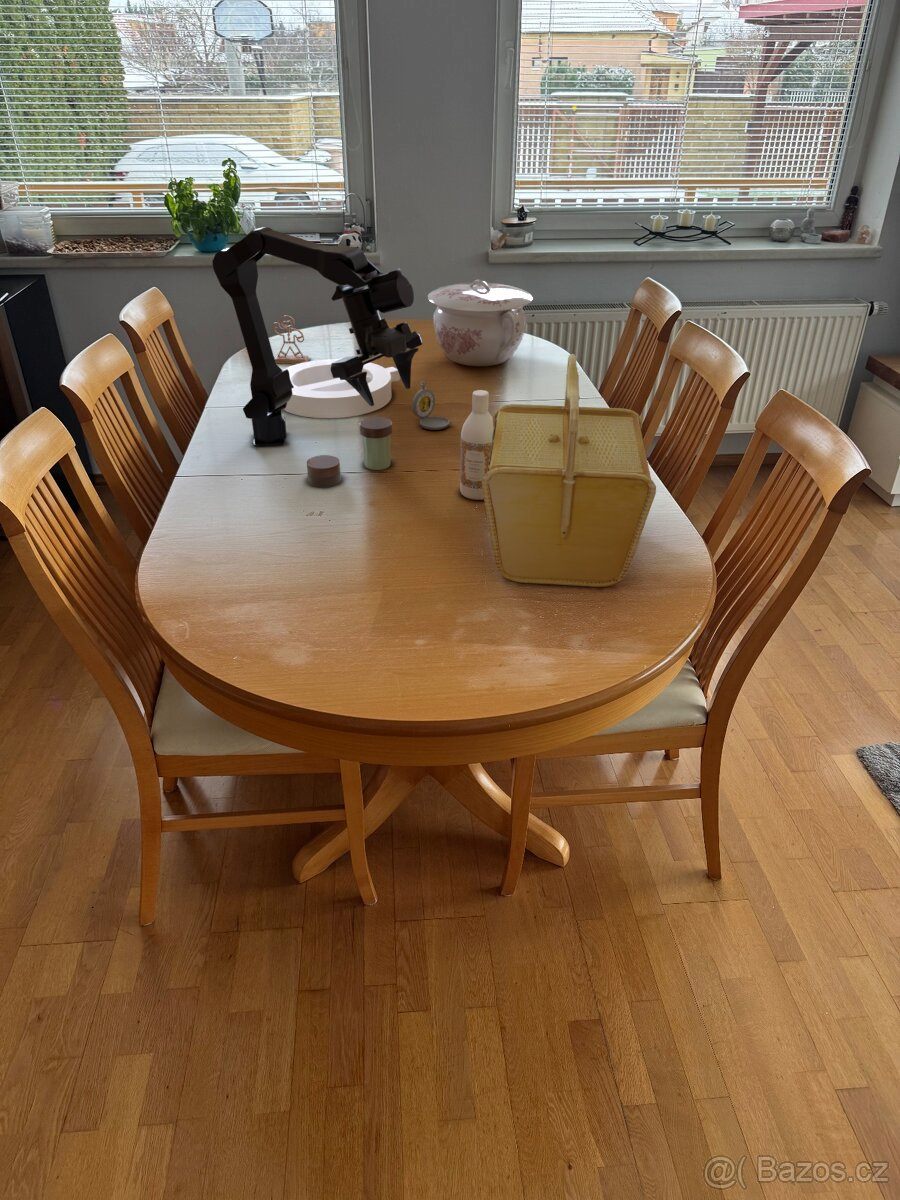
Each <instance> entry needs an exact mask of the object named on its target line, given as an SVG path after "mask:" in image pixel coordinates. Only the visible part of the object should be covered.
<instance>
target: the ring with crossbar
mask: <svg viewBox="0 0 900 1200" xmlns="http://www.w3.org/2000/svg"><path fill="white" fill-rule="evenodd" d="M340 359H341V358H329V359H328V358H327V359H326V358H325V359H317V360H310V361H309V360H308V362H304V363H299V364H293V365H292V364H291V365H290V366H287V367H285V368H283V369H282V370H286V369H287V370H288V371H289V375H290V380H291V383H292V385H293V386H294V388H292V396H291V398H290V400H289V401H288V402H287V406H286V408H285V409H282V411H285V412H287V413H289V414H293V415H295V416H301V417H305V418H315V419H341V418H342V419H343V418H351V417H357V416H362V415H365V414H369V413H372V412H375V411H378V410H380V409H382V408H383V407H385V406H386V405H388V404H389V403H390V401H391V399H392V395H393V394H392V383H393V382H398V381H401V377H400V375H399V372H398V370H397V367H394V366H388V367H383V366H382V365H379V364H377V363H374V362H370V363H367V364H365V365H364V367H363V369H362V372H367V376H366V381H367V384H368V386H369V389H370V392H371V395H372V398H373V402H374V406H370V405H369V404H368V403H367V402H366V401H365V400H364V398H363V397H362V396H361V395H360V394H359V393H358V392H357V391H356V390H355V389H354V388H353V387H352V386H351V385H350V384H349V383H348V382H347V381H346V380H340V378H333V376H332V373H331V364H332V363H333V362H335V361H338V360H340Z"/></svg>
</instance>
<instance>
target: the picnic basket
mask: <svg viewBox="0 0 900 1200" xmlns="http://www.w3.org/2000/svg"><path fill="white" fill-rule="evenodd" d="M565 376H566V377H565V391H564V403H563V404H564V405H548V404H547V405H546V404H521V403H520V404H519V403H509V404H504V405H502V406H500V407H498V408H497V409H496V410H495V412H494V413H493V414H492V418H493V427H494V431H493V437H492V443H491V450H490V456H489V462H488V468H487V473H486V475H485V476H484V477H483V479H482V489H483V495H484V500H483V501H484V506H485V513H486V517H487V518H486V519H487V525H488V531H489V535H490V543H491V547H492V548H491V549H492V553H493V560H494V565H495V568H496V569H497V571H498V573H499V574H500V575H502V576H503V577H504V578H506V579H507V580H510V581H512V582H516V583H523V584H541V585H556V586H557V585H559V586H574V587H576V586H577V587H590V588H591V587H592V588H603V587H610V586H613V585H616V584H618V583H619V582H620V581H623V579H625V577H626V575H627V574H628V573H629V569H630V567H631V564H632V561H633V559H634V556H635V552H636V550H637V548H638V545H639V541H640V539H641V536H642V533H643V531H644V528H645V524H646V523H647V519H648V516H649V514H650V510H651V508H652V505H653V503H654V500H655V497H656V494H657V485H656V484H655V482H654V480H653V479H652V477H651V472H650V467H649V463H648V458H647V452H646V448H645V443H644V438H643V433H642V428H643V420H642V417H641V416H640V415H639V413H637V412H635V411H634V410H633V409H629V408H624V407H623V408H622V407H621V408H619V407H596V406H580V403H579V401H580V398H581V395H580V380H579V379H580V378H579V377H580V375H579V371H578V367H577V356H576V354H574V353H570V354H569V355H568V356H567V366H566V375H565Z"/></svg>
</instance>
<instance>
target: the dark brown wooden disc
mask: <svg viewBox="0 0 900 1200" xmlns="http://www.w3.org/2000/svg"><path fill="white" fill-rule="evenodd" d="M392 426H393V423H392V421H391V420H390V419H389V418H387V417H381V416H373V417H367V418H364V419H362V420H360V421H359V434H360V436H362V437H363V436H364V437H367V438H384V437H387V436H389V435H392V434H393V427H392Z"/></svg>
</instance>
